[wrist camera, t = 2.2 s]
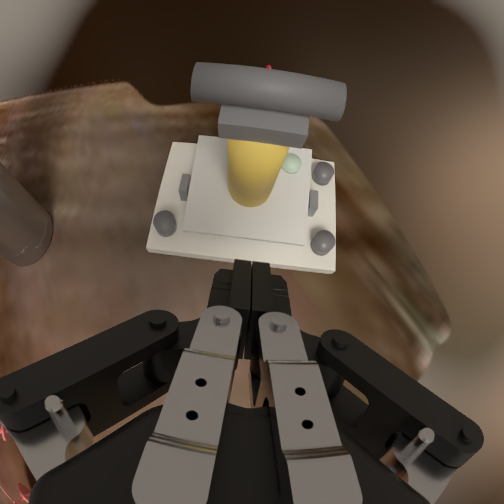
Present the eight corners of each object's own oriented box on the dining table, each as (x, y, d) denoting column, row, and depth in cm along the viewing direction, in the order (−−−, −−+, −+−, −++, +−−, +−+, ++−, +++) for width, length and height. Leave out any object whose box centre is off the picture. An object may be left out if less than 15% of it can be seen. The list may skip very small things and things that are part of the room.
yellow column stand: (183, 232, 37) (125, 157, 15) (199, 139, 38) (176, 9, 17) (302, 246, 37) (389, 191, 16) (309, 153, 39) (375, 37, 17)
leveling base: (148, 252, 38) (141, 240, 35) (174, 148, 44) (170, 130, 40) (331, 274, 40) (342, 264, 36) (331, 168, 45) (339, 152, 41)
